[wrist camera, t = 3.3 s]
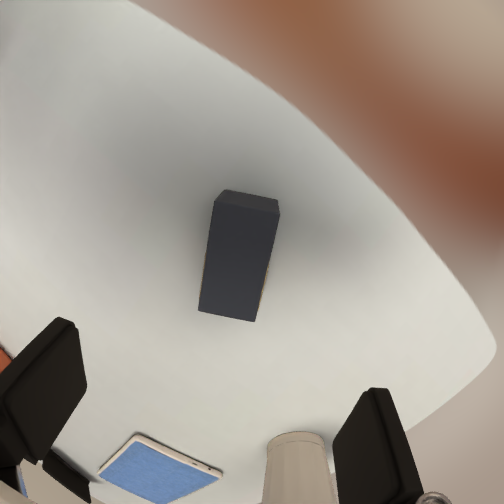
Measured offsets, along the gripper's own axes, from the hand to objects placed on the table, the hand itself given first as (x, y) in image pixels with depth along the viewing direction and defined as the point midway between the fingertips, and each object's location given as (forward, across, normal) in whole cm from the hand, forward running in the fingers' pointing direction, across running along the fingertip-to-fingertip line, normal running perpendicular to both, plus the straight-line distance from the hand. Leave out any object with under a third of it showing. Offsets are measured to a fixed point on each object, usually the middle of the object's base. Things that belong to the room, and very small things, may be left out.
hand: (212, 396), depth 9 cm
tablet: (+14, +7, +36) cm, 39 cm away
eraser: (+14, 0, 0) cm, 14 cm away
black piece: (+14, +24, +47) cm, 54 cm away
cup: (+14, -10, +22) cm, 28 cm away
